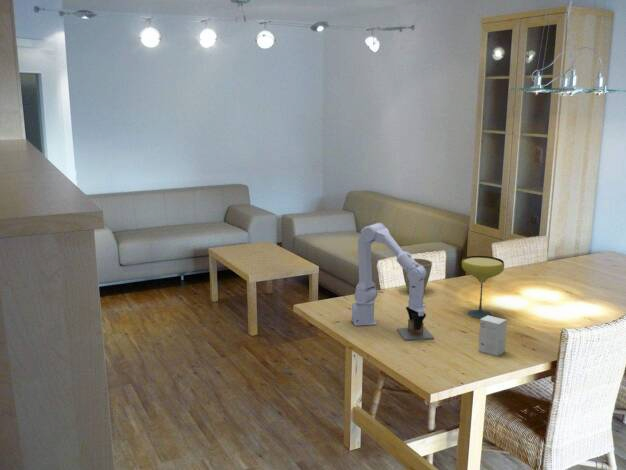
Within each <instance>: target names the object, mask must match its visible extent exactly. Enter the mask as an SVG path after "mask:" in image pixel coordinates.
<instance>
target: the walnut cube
mask: <svg viewBox="0 0 626 470" xmlns="http://www.w3.org/2000/svg"><path fill="white" fill-rule="evenodd" d="M407 319H408V320H407V328H408V332H409V333H410V334H411V335H423V327H425V326H424V321H423V322H422V325H421V329H420V330H415V328H414V320H413V319H409V318H407Z"/></svg>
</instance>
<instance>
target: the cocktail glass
mask: <svg viewBox="0 0 626 470" xmlns="http://www.w3.org/2000/svg"><path fill="white" fill-rule="evenodd" d="M461 268H462V269H463V270H464V271H465V272H466V274H469V276H472V277H473V278H476V279H477V281H478V282H479V283H480V296H479V307H478V309H472V310H469V311H468V312H467V315H468V316H469V317H472V318H475V319H479V320H480V319H482V318H484V317H486V316H488V315H489V316H493V313H492V312H490V311H487V310H484V309H483V307H482V305H483V304H482V302H483V300H482V299H483V283H485V282H486V281H487V280H488V279H490V278H493V277H497V276H498V275H501V274H502V272H504V271H505V270H504V269H505V261H504V260H503V259H500V258H497V257H494V256H488V255H470V256H466V257H463V258H462V260H461Z"/></svg>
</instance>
